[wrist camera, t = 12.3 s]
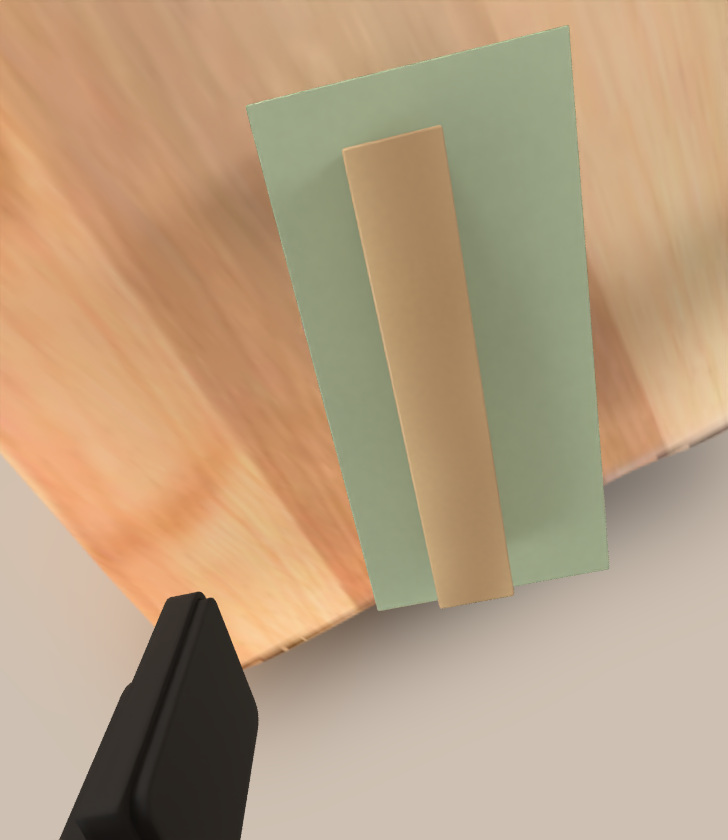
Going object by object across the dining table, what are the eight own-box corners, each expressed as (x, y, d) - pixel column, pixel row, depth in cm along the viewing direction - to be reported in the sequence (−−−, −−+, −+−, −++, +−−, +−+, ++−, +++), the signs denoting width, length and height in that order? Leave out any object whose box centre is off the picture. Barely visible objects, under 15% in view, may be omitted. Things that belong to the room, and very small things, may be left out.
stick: (431, 561, 25) (440, 610, 22) (343, 152, 19) (340, 148, 16) (497, 549, 25) (514, 596, 22) (430, 131, 19) (442, 123, 16)
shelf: (371, 480, 37) (378, 611, 26) (287, 130, 30) (245, 105, 18) (532, 448, 36) (610, 569, 25) (488, 81, 29) (569, 24, 18)
